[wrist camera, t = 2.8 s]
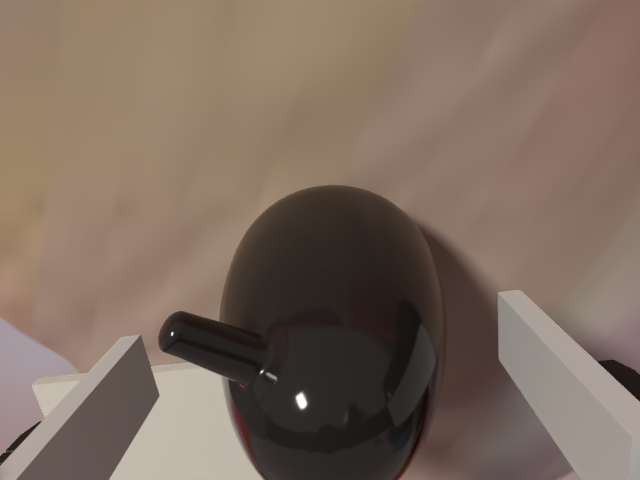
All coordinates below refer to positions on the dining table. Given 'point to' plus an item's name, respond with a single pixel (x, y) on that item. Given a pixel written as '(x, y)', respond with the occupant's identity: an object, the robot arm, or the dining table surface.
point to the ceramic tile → (173, 428)
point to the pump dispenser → (326, 338)
